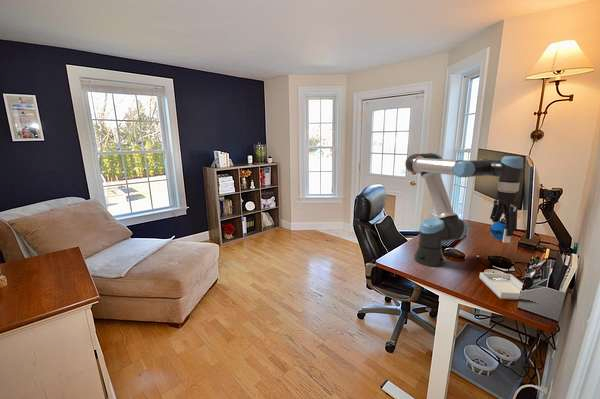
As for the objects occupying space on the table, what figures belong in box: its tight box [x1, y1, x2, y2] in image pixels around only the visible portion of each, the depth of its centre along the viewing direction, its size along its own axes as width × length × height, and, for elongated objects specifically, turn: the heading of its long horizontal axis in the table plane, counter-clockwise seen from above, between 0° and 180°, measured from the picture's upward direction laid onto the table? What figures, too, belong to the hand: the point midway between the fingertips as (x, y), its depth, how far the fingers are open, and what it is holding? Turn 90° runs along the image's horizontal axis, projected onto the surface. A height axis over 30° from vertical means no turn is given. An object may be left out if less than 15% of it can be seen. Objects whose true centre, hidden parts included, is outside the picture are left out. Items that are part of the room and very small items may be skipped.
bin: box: [478, 272, 524, 301], centre depth 120 cm, size 14×18×3 cm
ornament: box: [489, 218, 514, 241], centre depth 122 cm, size 9×9×10 cm
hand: (500, 238), depth 123 cm, fingers closed on ornament, 9 cm apart
